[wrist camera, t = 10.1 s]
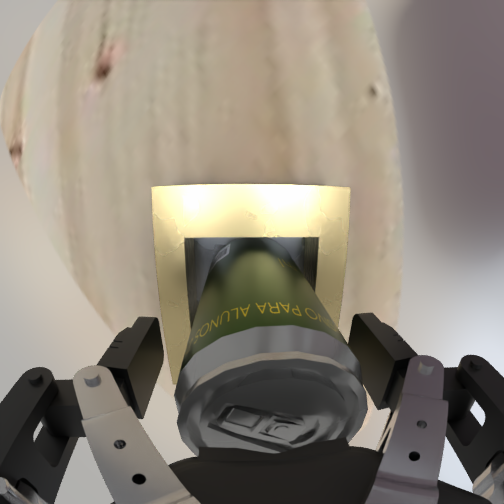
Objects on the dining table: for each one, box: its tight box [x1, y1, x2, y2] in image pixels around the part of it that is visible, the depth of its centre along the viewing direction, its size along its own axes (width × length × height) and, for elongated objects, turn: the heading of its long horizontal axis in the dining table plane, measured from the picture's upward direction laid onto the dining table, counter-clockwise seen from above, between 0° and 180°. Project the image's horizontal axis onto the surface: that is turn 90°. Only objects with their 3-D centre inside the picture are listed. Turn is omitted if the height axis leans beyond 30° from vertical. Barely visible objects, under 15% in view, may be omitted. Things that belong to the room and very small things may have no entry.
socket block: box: [152, 184, 350, 384], centre depth 17 cm, size 12×10×4 cm
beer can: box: [174, 237, 368, 456], centre depth 12 cm, size 5×5×12 cm
